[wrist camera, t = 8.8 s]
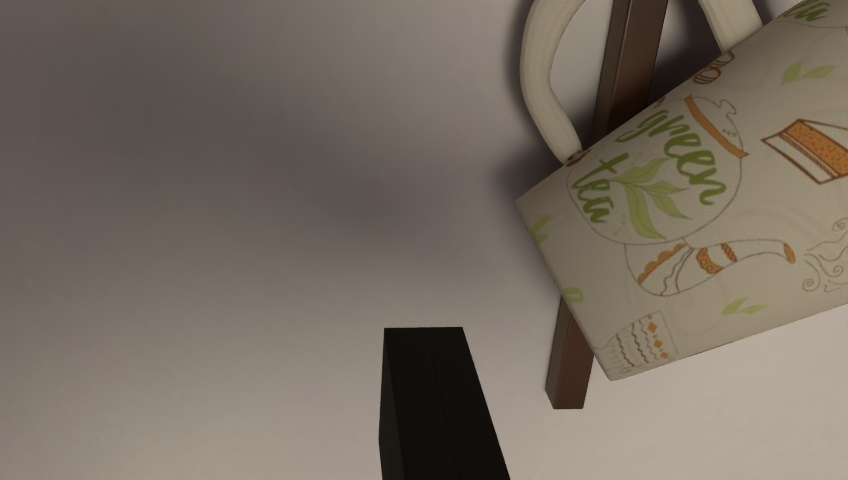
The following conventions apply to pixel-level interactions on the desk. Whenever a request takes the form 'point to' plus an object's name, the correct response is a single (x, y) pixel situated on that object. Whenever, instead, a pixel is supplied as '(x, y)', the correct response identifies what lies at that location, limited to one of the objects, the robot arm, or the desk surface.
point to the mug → (700, 189)
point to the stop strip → (616, 104)
